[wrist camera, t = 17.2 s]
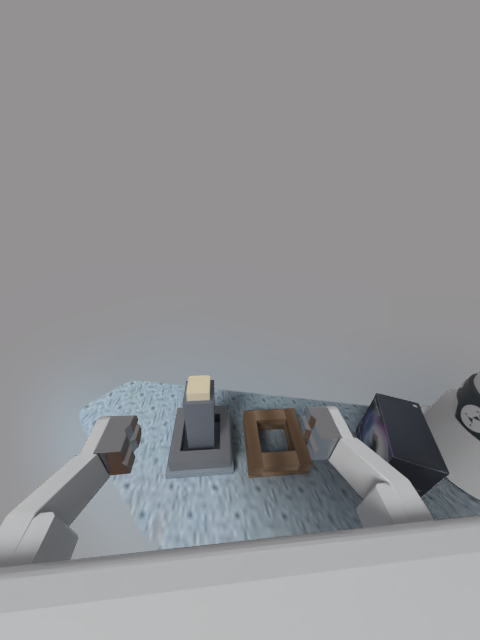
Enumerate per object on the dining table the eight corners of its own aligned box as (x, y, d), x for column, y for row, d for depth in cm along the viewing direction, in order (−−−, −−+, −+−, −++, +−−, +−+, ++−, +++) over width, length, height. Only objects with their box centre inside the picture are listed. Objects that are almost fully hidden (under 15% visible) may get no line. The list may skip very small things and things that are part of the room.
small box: (353, 428, 41) (374, 390, 35) (391, 439, 39) (420, 402, 34) (361, 491, 32) (391, 455, 26) (411, 510, 30) (454, 475, 25)
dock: (230, 415, 41) (230, 401, 39) (233, 473, 33) (234, 460, 31) (177, 417, 40) (174, 404, 38) (166, 478, 32) (162, 465, 30)
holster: (291, 418, 42) (293, 408, 40) (308, 473, 34) (312, 463, 32) (242, 420, 41) (243, 410, 39) (248, 477, 33) (250, 468, 31)
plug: (214, 427, 38) (213, 372, 31) (214, 451, 35) (213, 395, 28) (191, 428, 38) (185, 373, 31) (189, 452, 34) (181, 396, 27)
